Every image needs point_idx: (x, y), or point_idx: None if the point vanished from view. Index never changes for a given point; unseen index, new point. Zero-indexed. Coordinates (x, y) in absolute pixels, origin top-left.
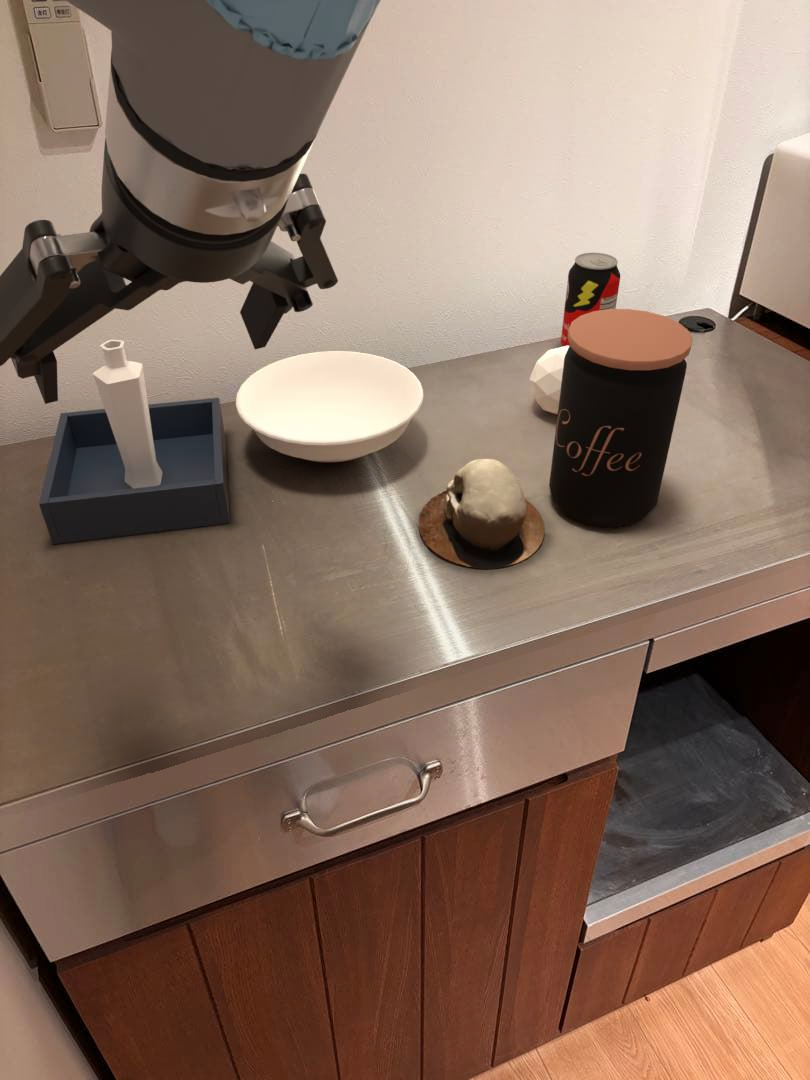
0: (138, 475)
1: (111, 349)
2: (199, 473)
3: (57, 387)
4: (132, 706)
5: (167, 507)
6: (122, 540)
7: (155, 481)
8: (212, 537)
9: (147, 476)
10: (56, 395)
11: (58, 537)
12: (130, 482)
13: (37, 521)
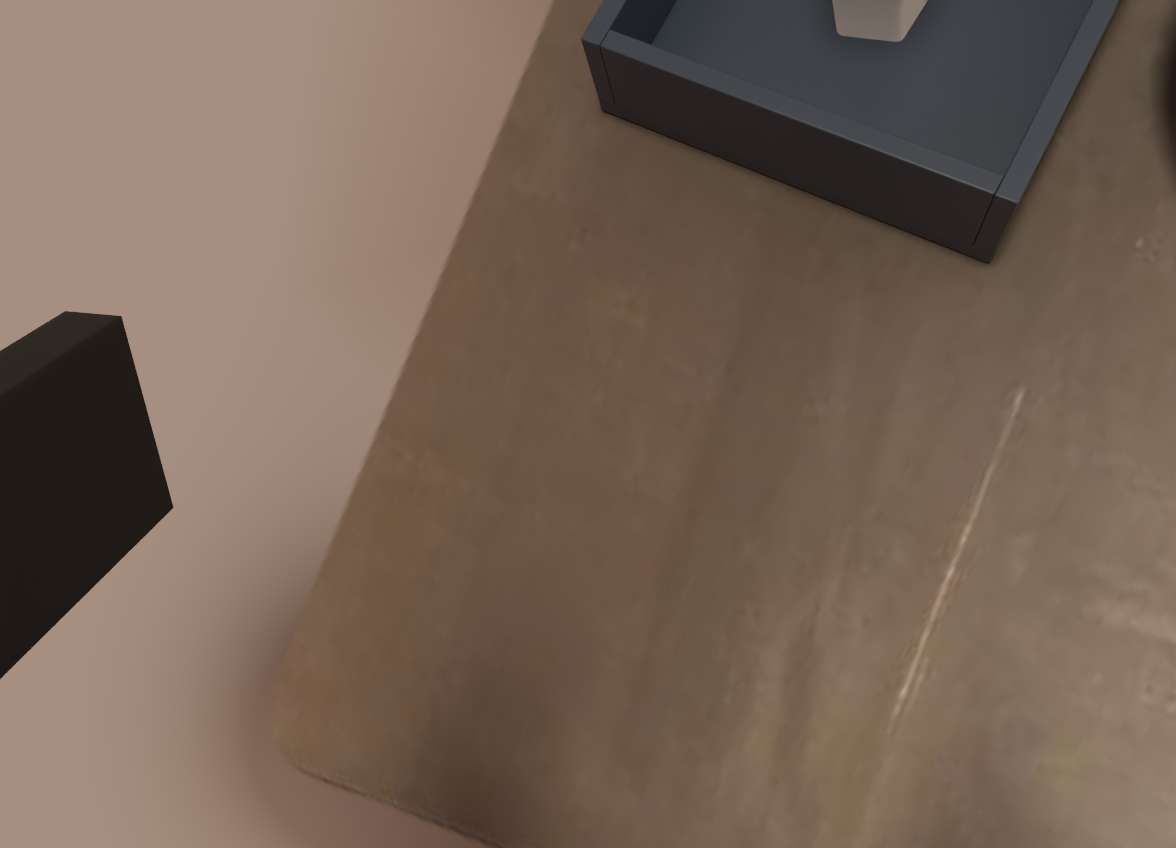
0: (857, 5)
1: None
2: (1013, 47)
3: (50, 628)
4: (517, 686)
5: (856, 174)
6: (734, 179)
7: (892, 31)
8: (923, 288)
9: (878, 14)
10: (120, 554)
11: (613, 106)
12: (836, 4)
13: None
